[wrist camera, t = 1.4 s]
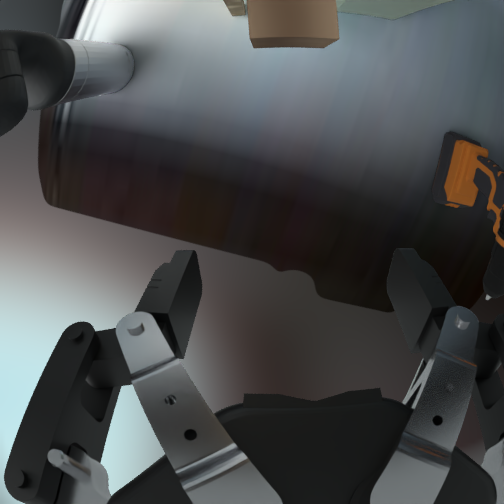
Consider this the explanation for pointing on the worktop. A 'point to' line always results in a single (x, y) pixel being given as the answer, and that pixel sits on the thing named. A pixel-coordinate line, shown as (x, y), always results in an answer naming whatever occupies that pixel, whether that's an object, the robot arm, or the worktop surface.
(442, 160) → the power drill
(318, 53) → the worktop surface
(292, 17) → the tan cardboard block
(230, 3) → the stool
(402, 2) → the pale green block
